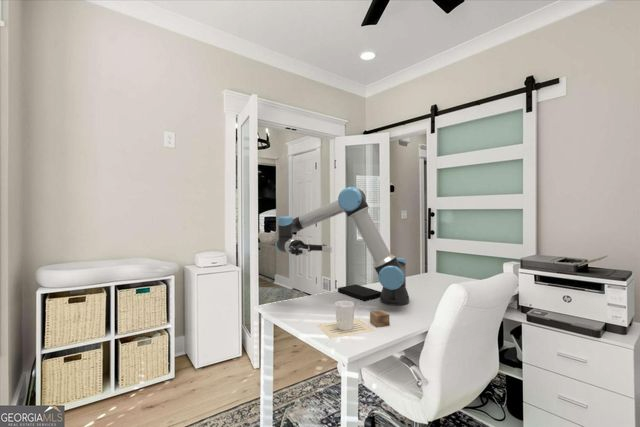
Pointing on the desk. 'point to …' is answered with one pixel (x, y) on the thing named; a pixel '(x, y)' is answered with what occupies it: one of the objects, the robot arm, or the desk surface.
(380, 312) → the block
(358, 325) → the letter
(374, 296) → the external hard drive
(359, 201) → the robot arm
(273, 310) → the desk surface
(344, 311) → the white cup
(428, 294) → the desk surface
